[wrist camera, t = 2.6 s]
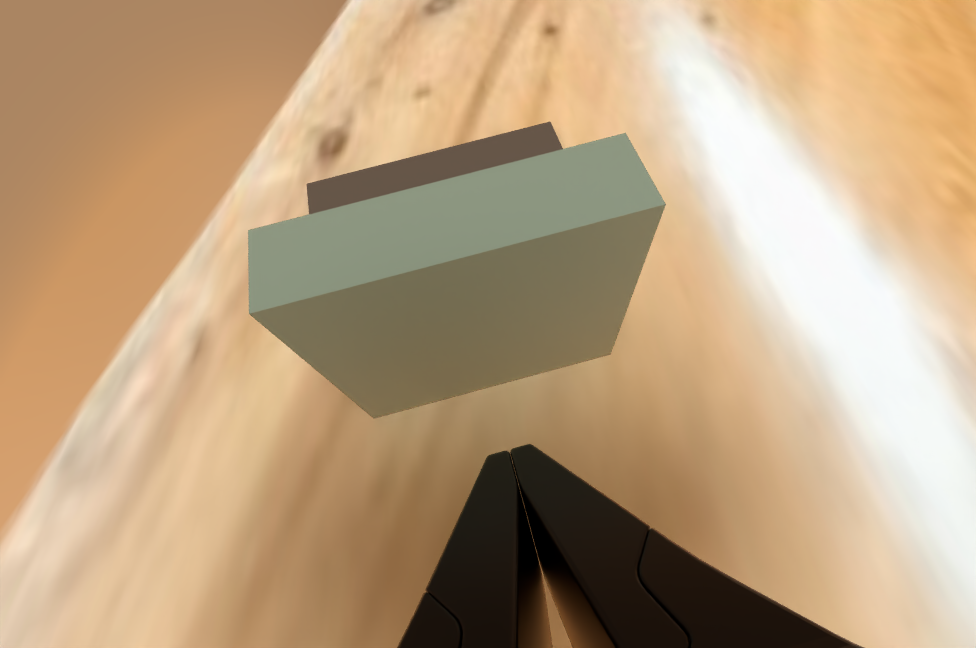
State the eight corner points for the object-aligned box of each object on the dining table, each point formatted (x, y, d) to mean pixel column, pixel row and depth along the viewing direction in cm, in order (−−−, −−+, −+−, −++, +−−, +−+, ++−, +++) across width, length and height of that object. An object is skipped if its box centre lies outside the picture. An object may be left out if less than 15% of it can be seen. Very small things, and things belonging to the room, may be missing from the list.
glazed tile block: (610, 354, 23) (665, 204, 13) (374, 418, 23) (249, 313, 13) (587, 299, 24) (622, 127, 15) (365, 359, 24) (248, 224, 14)
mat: (619, 280, 25) (621, 275, 24) (325, 359, 24) (321, 355, 24) (550, 127, 30) (550, 121, 30) (310, 189, 30) (306, 183, 29)
